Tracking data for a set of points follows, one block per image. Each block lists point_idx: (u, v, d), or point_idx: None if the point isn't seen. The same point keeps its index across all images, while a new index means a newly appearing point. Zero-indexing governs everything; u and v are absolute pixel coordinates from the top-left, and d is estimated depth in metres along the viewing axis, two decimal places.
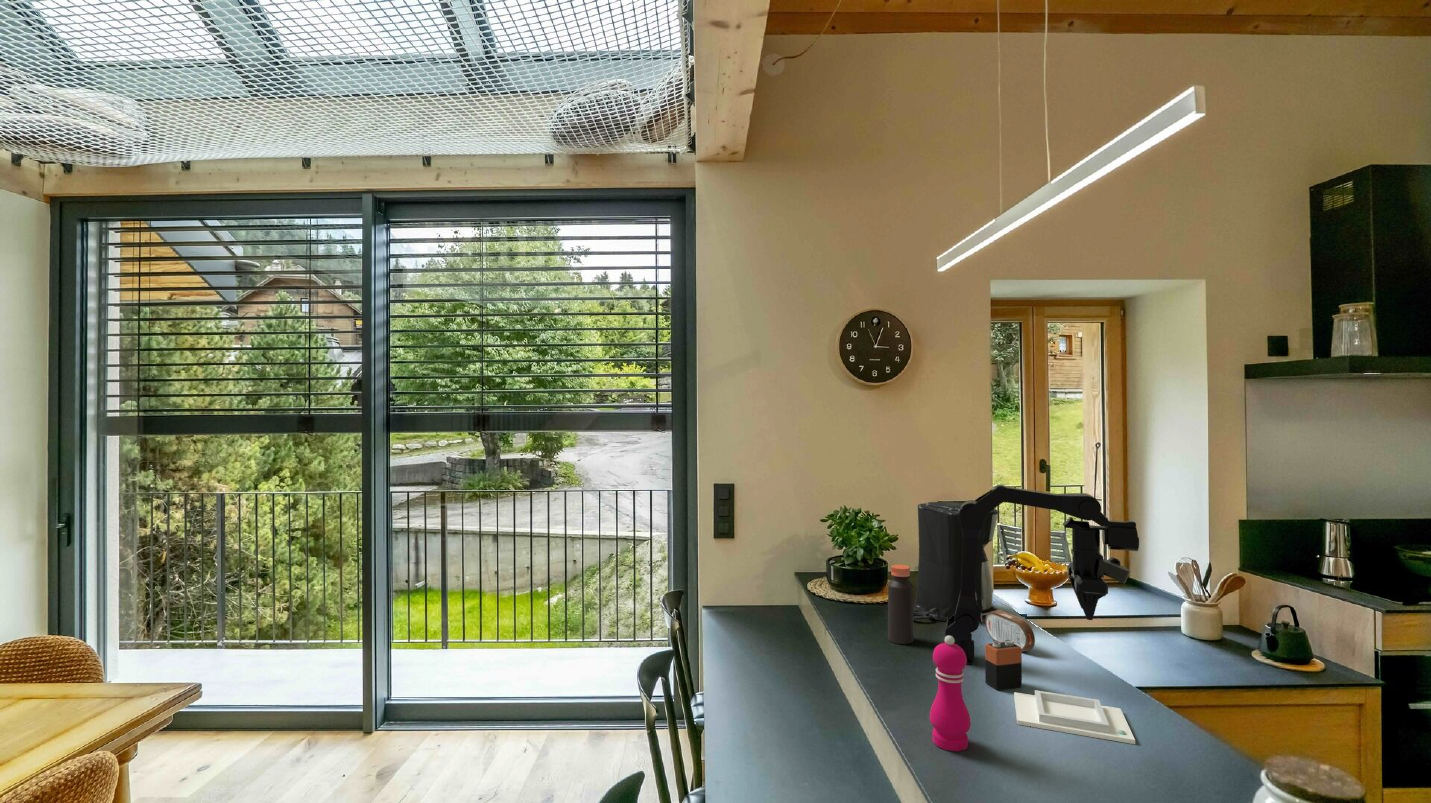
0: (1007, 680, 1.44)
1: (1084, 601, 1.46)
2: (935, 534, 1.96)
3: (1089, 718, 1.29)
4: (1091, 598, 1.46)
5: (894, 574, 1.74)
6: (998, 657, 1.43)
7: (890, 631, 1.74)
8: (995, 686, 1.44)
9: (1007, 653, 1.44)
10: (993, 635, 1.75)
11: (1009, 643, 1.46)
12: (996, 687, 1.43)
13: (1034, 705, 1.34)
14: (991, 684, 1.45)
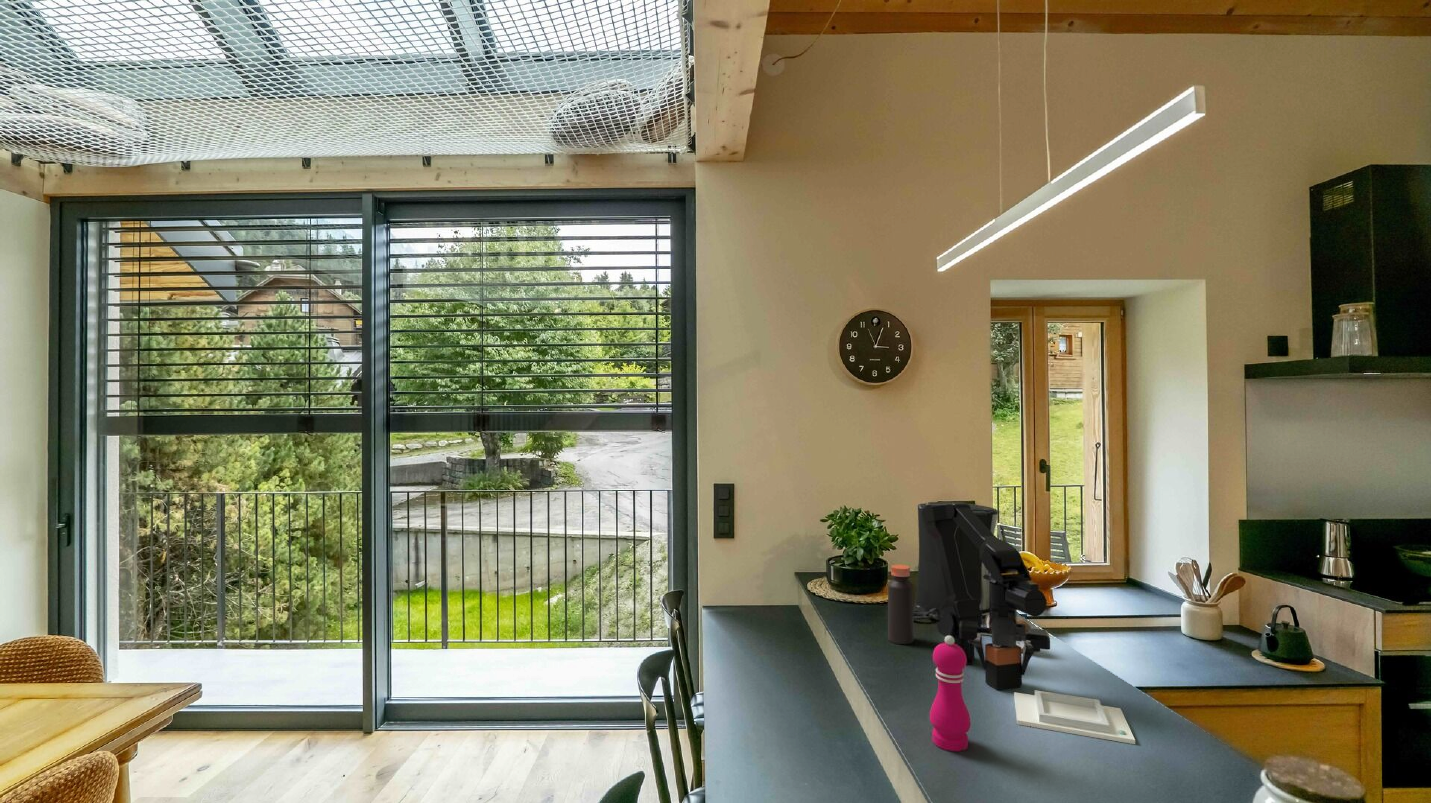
0: (1007, 680, 1.44)
1: None
2: None
3: (1089, 718, 1.29)
4: None
5: (894, 574, 1.74)
6: (998, 657, 1.43)
7: (890, 631, 1.74)
8: (995, 686, 1.44)
9: (1007, 653, 1.44)
10: None
11: None
12: (996, 686, 1.43)
13: (1034, 705, 1.34)
14: (991, 684, 1.45)
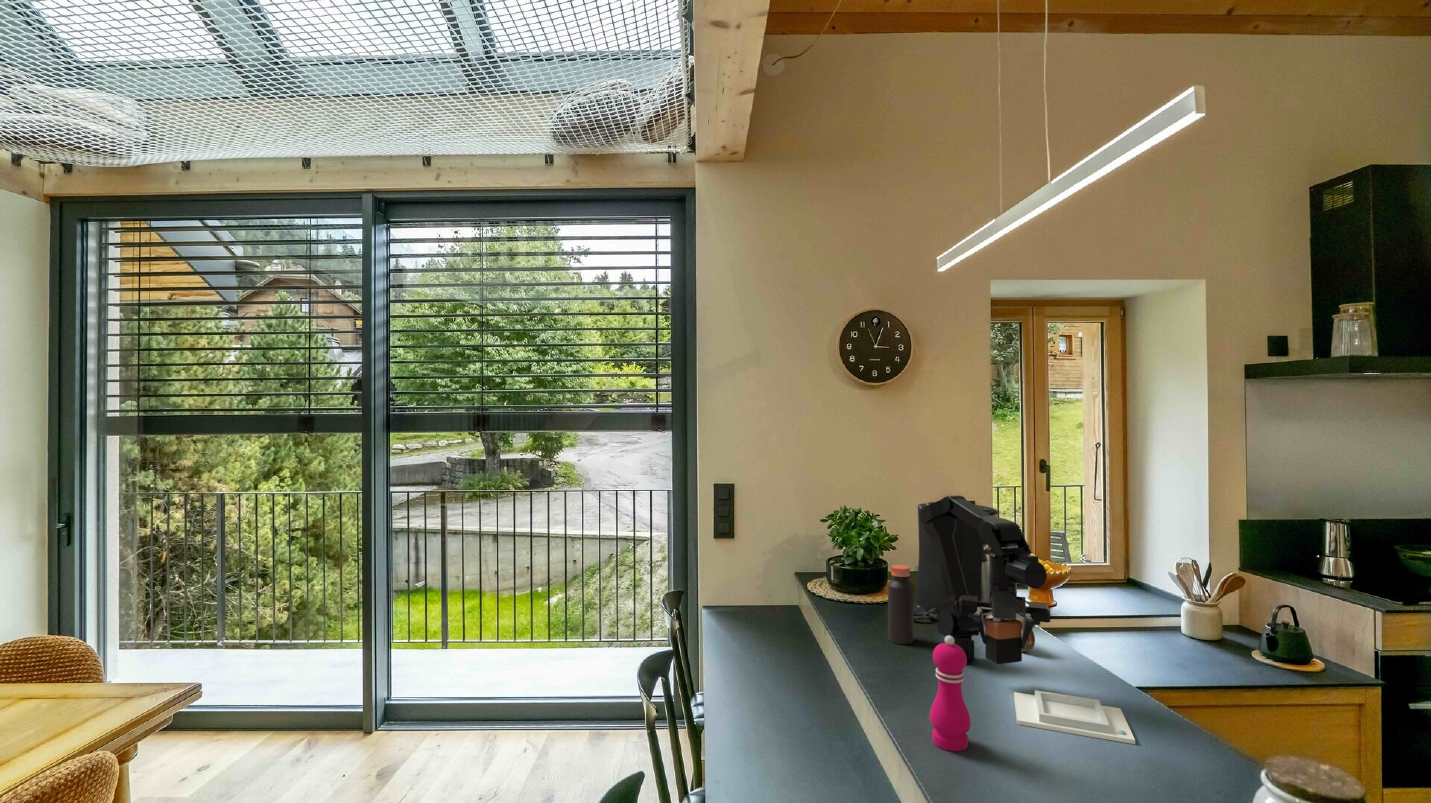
0: (1007, 654, 1.44)
1: None
2: None
3: (1089, 718, 1.29)
4: None
5: (894, 574, 1.74)
6: (998, 631, 1.43)
7: (890, 631, 1.74)
8: (995, 660, 1.44)
9: (1007, 627, 1.44)
10: None
11: None
12: (996, 661, 1.43)
13: (1034, 705, 1.34)
14: (991, 658, 1.45)
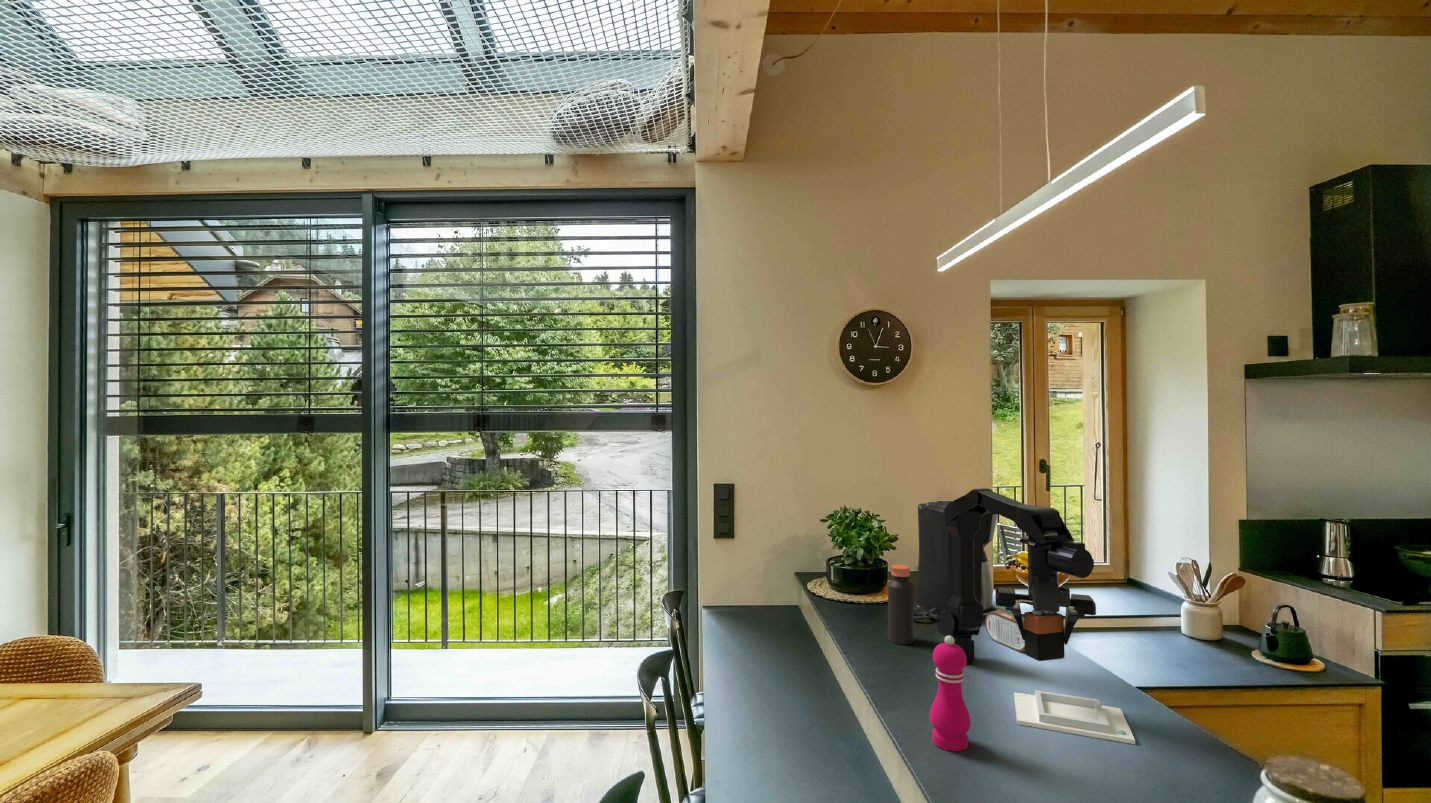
0: (1049, 650, 1.34)
1: None
2: (936, 534, 1.96)
3: (1089, 718, 1.29)
4: None
5: (894, 574, 1.74)
6: (1039, 625, 1.33)
7: (890, 631, 1.74)
8: (1036, 657, 1.34)
9: (1049, 621, 1.34)
10: (993, 635, 1.75)
11: (1050, 611, 1.36)
12: (1038, 657, 1.33)
13: (1034, 705, 1.34)
14: (1032, 655, 1.35)
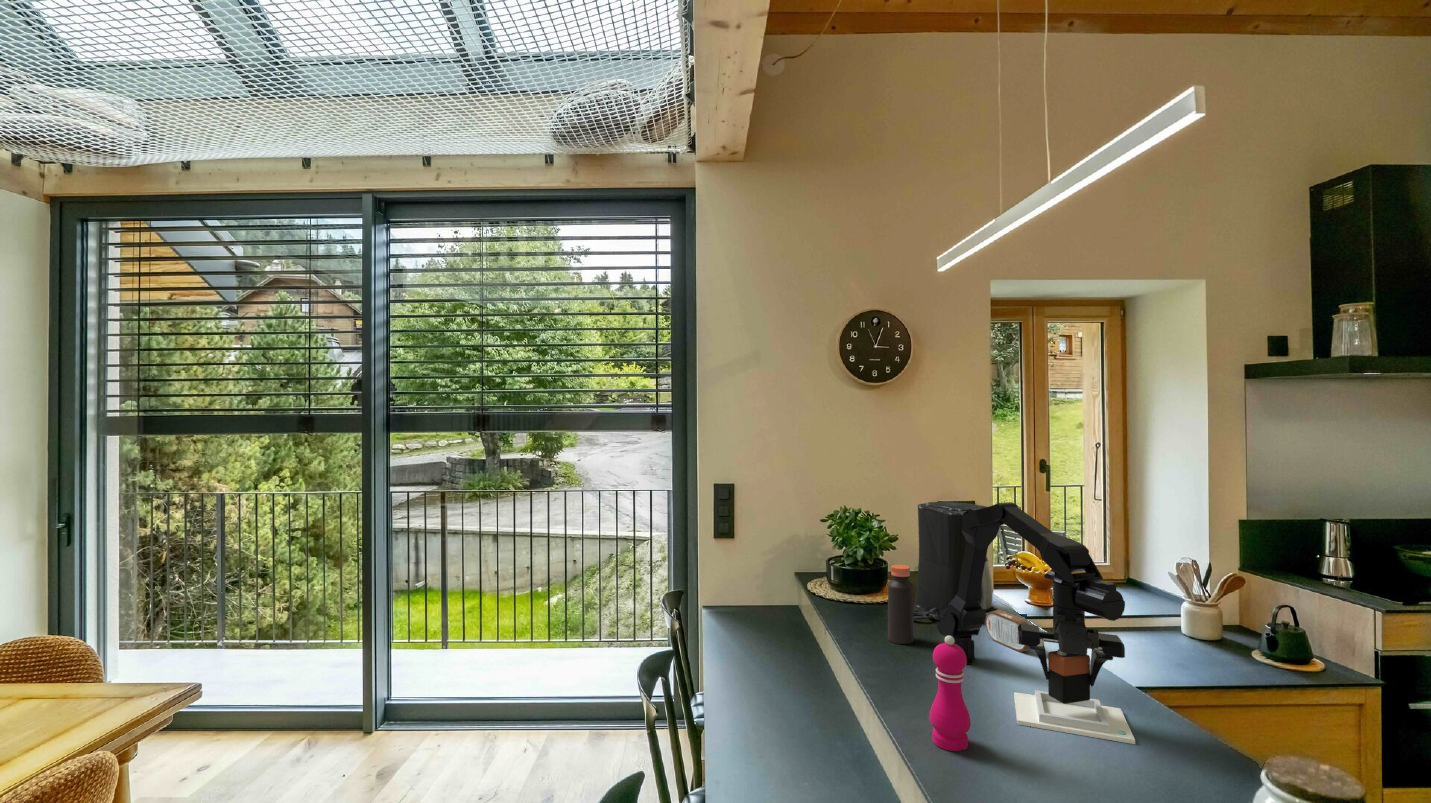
0: (1074, 692, 1.28)
1: None
2: (936, 534, 1.96)
3: (1089, 718, 1.29)
4: None
5: (894, 574, 1.74)
6: (1065, 666, 1.28)
7: (890, 631, 1.74)
8: (1061, 699, 1.28)
9: (1075, 663, 1.28)
10: (993, 635, 1.75)
11: None
12: (1062, 700, 1.28)
13: (1034, 705, 1.34)
14: (1056, 697, 1.29)
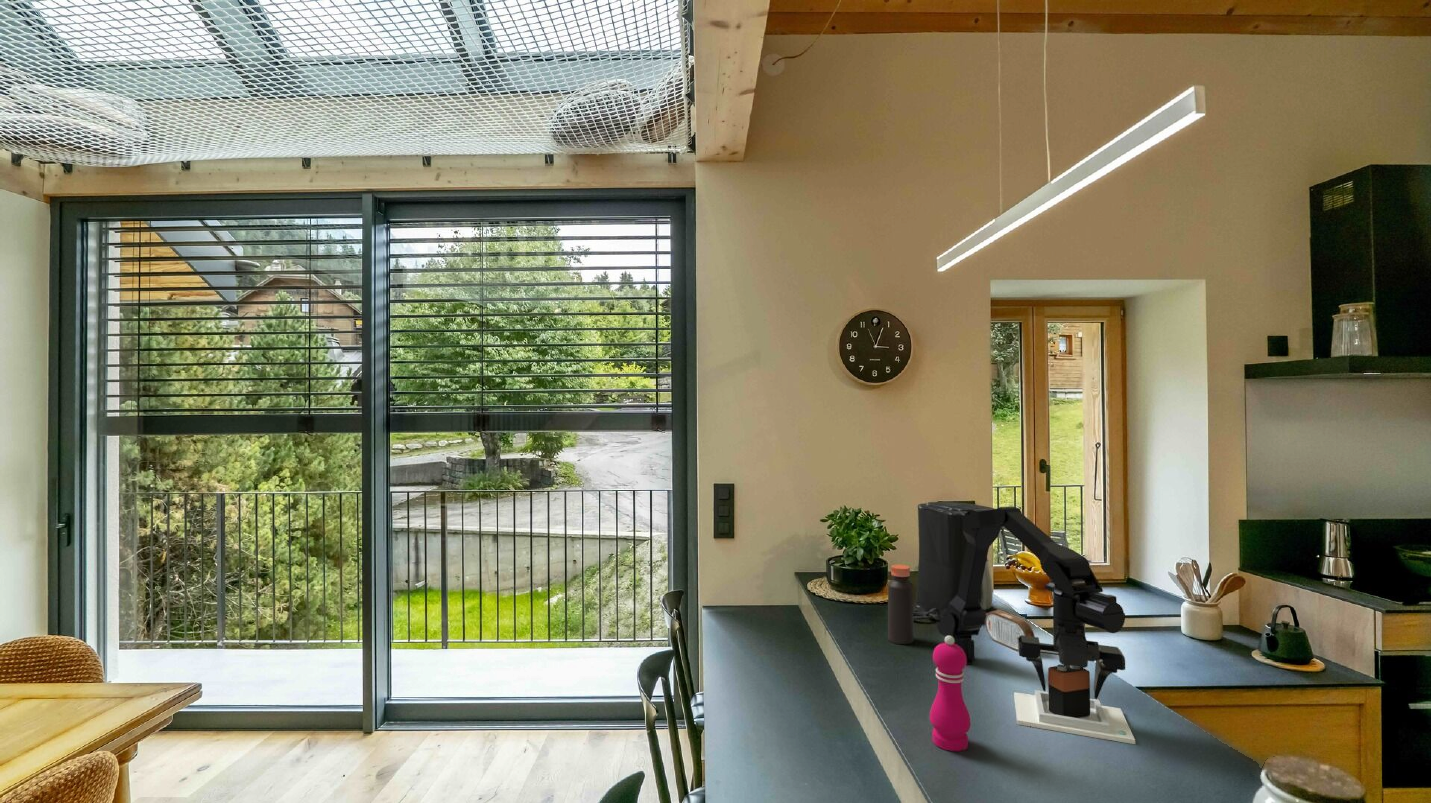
0: (1075, 708, 1.28)
1: None
2: (936, 534, 1.96)
3: (1089, 718, 1.29)
4: None
5: (894, 574, 1.74)
6: (1065, 682, 1.28)
7: (890, 631, 1.74)
8: (1062, 715, 1.28)
9: (1075, 678, 1.28)
10: (993, 635, 1.75)
11: (1075, 666, 1.30)
12: None
13: (1034, 705, 1.34)
14: (1056, 713, 1.29)
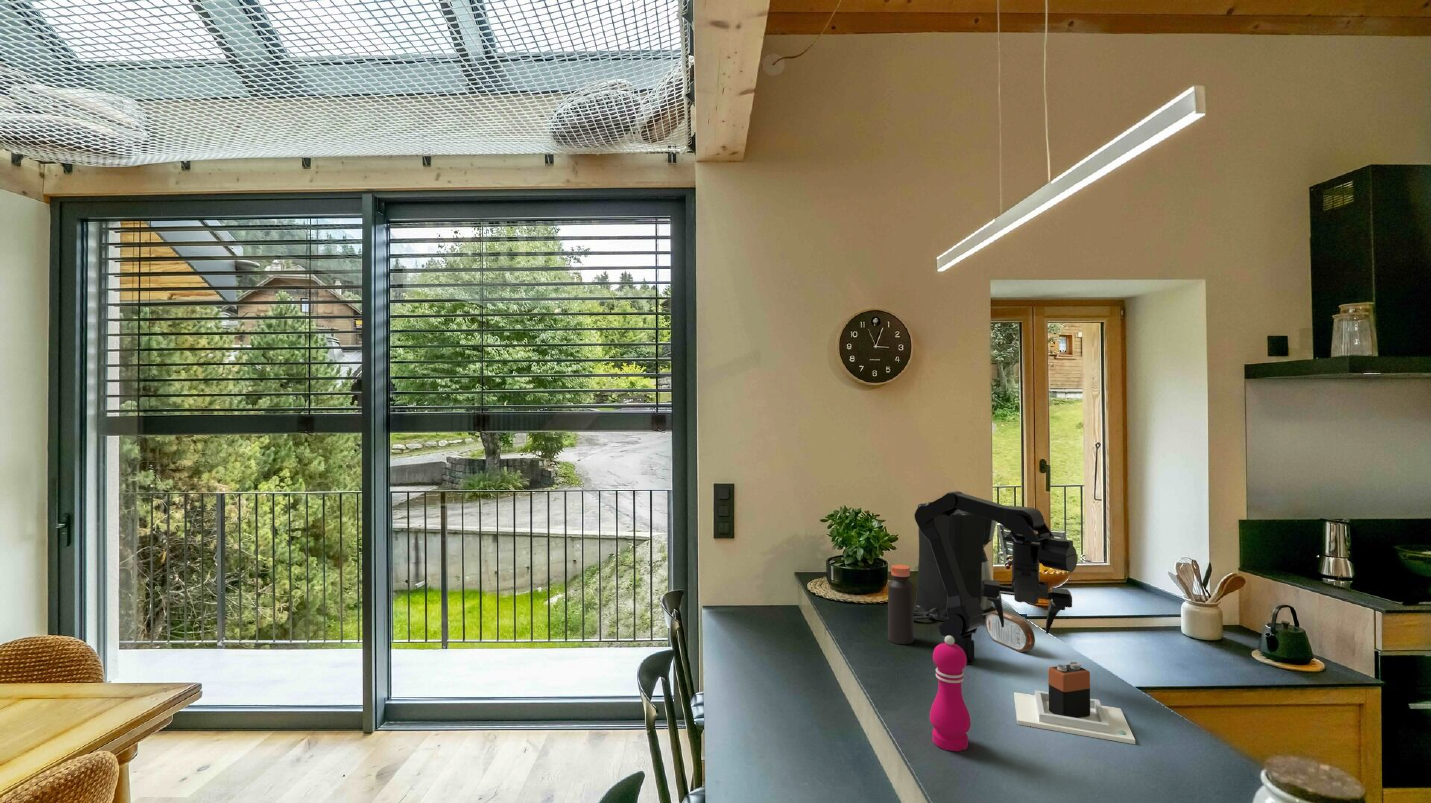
0: (1075, 708, 1.28)
1: None
2: None
3: (1089, 718, 1.29)
4: None
5: (894, 574, 1.74)
6: (1065, 682, 1.28)
7: (890, 631, 1.74)
8: (1062, 715, 1.28)
9: (1075, 678, 1.28)
10: (993, 635, 1.75)
11: (1076, 666, 1.30)
12: None
13: (1034, 705, 1.34)
14: (1056, 713, 1.29)
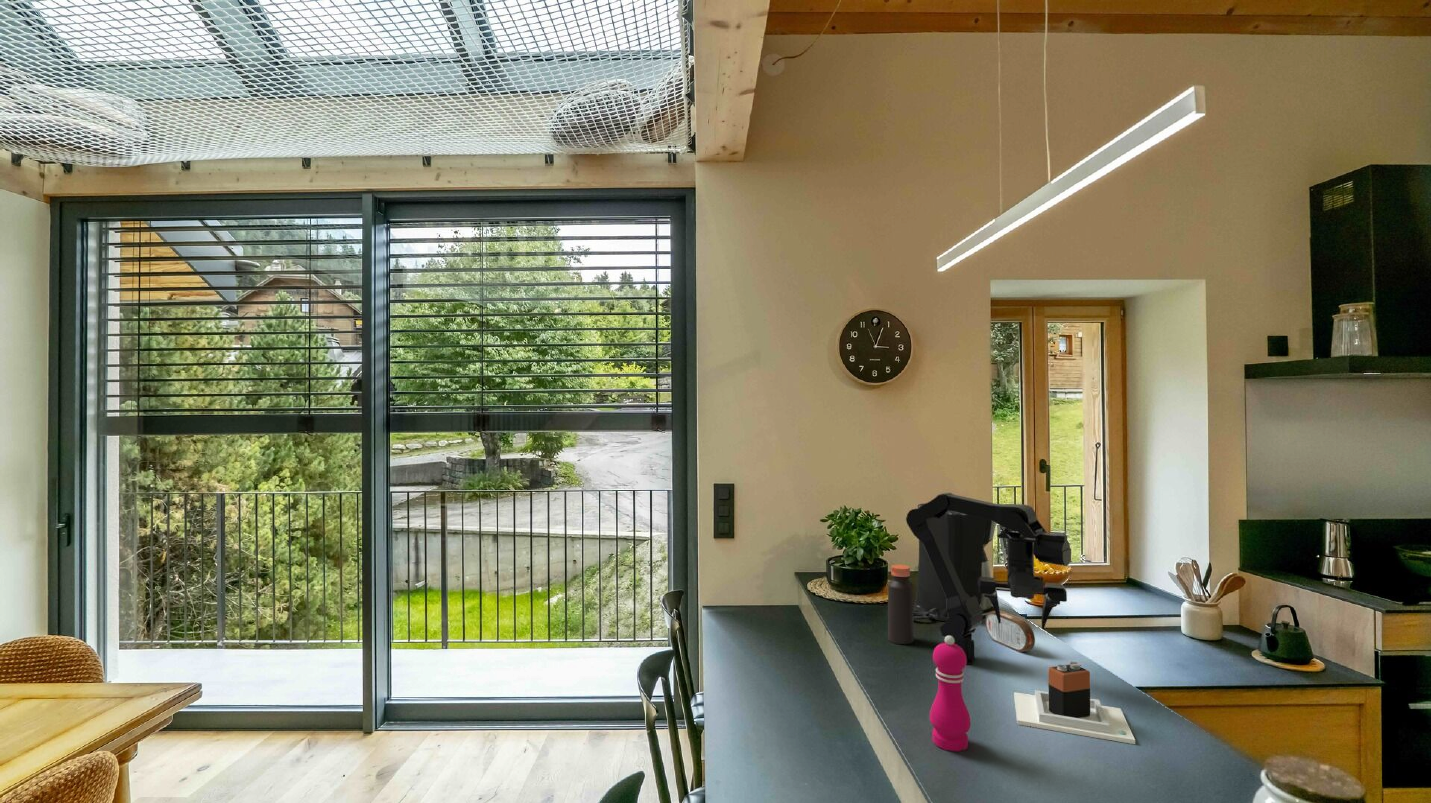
0: (1075, 708, 1.28)
1: None
2: None
3: (1089, 718, 1.29)
4: None
5: (894, 574, 1.74)
6: (1065, 682, 1.28)
7: (890, 631, 1.74)
8: (1062, 715, 1.28)
9: (1075, 678, 1.28)
10: (993, 635, 1.75)
11: (1076, 666, 1.30)
12: None
13: (1034, 705, 1.34)
14: (1056, 713, 1.29)
